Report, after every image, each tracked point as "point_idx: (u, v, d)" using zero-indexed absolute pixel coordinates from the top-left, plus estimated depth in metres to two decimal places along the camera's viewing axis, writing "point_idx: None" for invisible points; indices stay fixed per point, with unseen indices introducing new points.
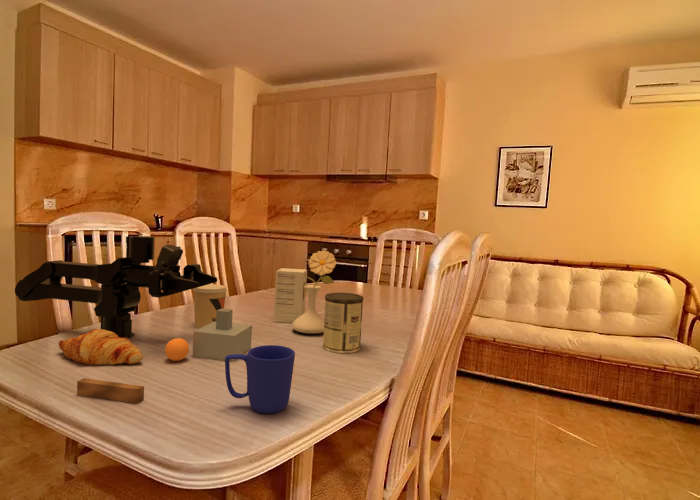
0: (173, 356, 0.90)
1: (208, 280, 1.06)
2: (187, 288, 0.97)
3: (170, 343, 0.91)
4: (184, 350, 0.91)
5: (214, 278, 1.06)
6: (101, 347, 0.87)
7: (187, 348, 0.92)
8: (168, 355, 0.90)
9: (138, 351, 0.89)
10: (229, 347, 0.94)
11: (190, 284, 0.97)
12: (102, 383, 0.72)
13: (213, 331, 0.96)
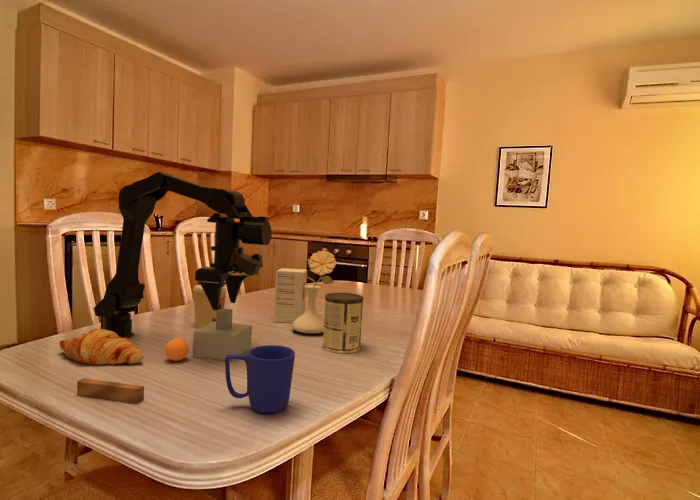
0: (173, 356, 0.90)
1: (231, 293, 1.04)
2: (210, 300, 0.94)
3: (170, 343, 0.91)
4: (184, 350, 0.91)
5: (233, 300, 1.03)
6: (101, 346, 0.87)
7: (187, 348, 0.92)
8: (168, 355, 0.90)
9: (139, 351, 0.89)
10: (229, 347, 0.94)
11: (214, 302, 0.94)
12: (102, 383, 0.72)
13: (213, 331, 0.96)
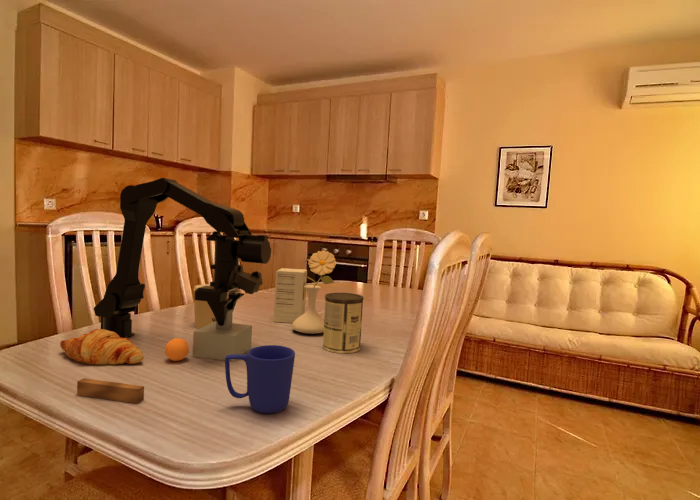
0: (173, 356, 0.90)
1: None
2: (216, 316, 0.97)
3: (170, 343, 0.91)
4: (184, 350, 0.91)
5: None
6: (102, 347, 0.87)
7: (187, 348, 0.92)
8: (168, 355, 0.90)
9: (139, 351, 0.89)
10: (229, 347, 0.94)
11: (220, 318, 0.97)
12: (102, 383, 0.72)
13: (213, 331, 0.96)
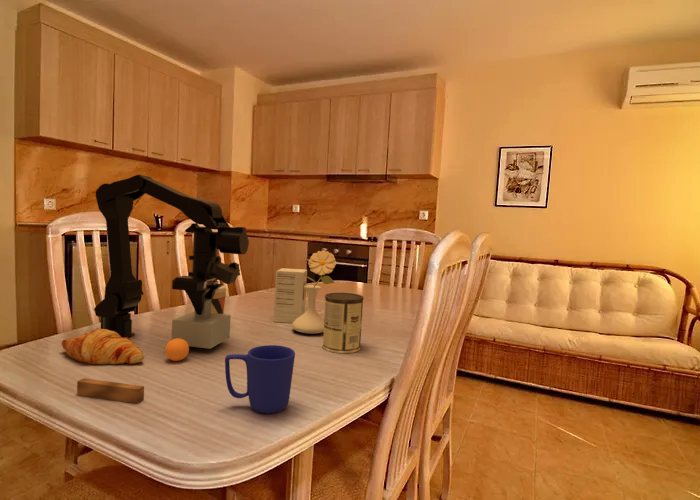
0: (173, 356, 0.90)
1: None
2: (194, 305, 1.01)
3: (170, 343, 0.91)
4: (184, 350, 0.91)
5: None
6: (102, 346, 0.87)
7: (187, 348, 0.92)
8: (168, 355, 0.90)
9: (139, 351, 0.89)
10: (206, 335, 0.97)
11: (198, 307, 1.01)
12: (102, 383, 0.72)
13: (192, 320, 0.99)
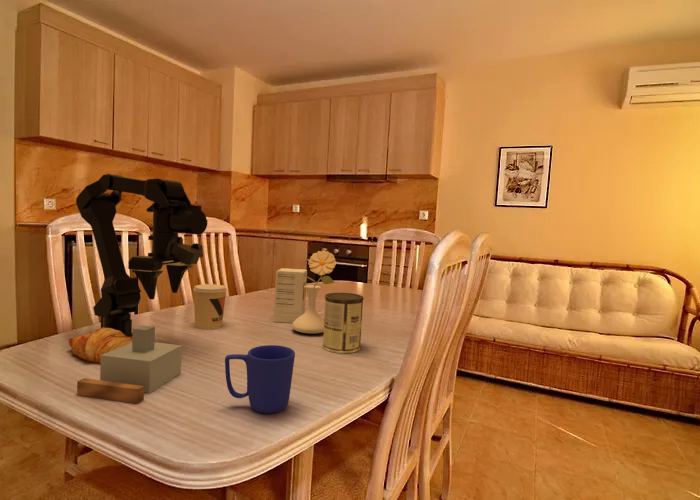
0: None
1: (173, 283, 1.04)
2: (146, 289, 0.94)
3: None
4: None
5: (175, 290, 1.04)
6: (105, 345, 0.88)
7: None
8: None
9: None
10: (144, 375, 0.75)
11: (150, 291, 0.94)
12: (102, 383, 0.72)
13: (126, 355, 0.77)
